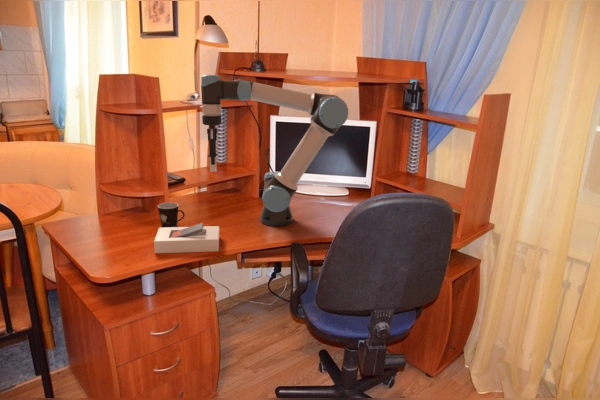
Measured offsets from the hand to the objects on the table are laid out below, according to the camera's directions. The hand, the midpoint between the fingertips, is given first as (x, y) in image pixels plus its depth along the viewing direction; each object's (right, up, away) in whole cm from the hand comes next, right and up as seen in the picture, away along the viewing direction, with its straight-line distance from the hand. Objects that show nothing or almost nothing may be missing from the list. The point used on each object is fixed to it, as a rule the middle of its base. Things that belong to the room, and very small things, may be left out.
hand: (213, 171), depth 185 cm
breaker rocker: (-8, -25, -9) cm, 28 cm away
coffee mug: (-20, -24, +9) cm, 33 cm away
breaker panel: (-8, -30, -8) cm, 32 cm away
